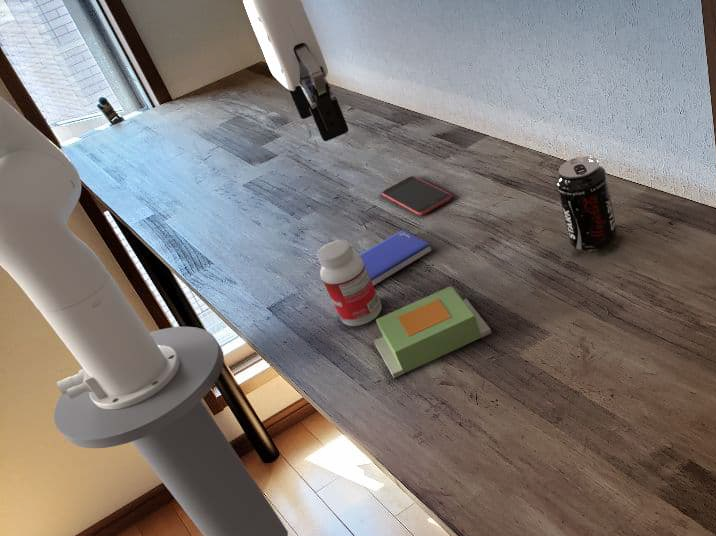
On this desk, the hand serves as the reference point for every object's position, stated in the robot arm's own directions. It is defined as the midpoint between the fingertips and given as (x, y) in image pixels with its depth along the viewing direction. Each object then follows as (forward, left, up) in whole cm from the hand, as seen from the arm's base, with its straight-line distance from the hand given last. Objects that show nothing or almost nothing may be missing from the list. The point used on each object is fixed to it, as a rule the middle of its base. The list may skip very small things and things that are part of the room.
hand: (324, 124), depth 100 cm
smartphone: (+13, +32, -28) cm, 45 cm away
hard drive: (+2, +15, -28) cm, 32 cm away
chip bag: (+2, -9, -28) cm, 30 cm away
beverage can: (+29, -4, -28) cm, 41 cm away
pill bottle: (-5, +4, -28) cm, 29 cm away
